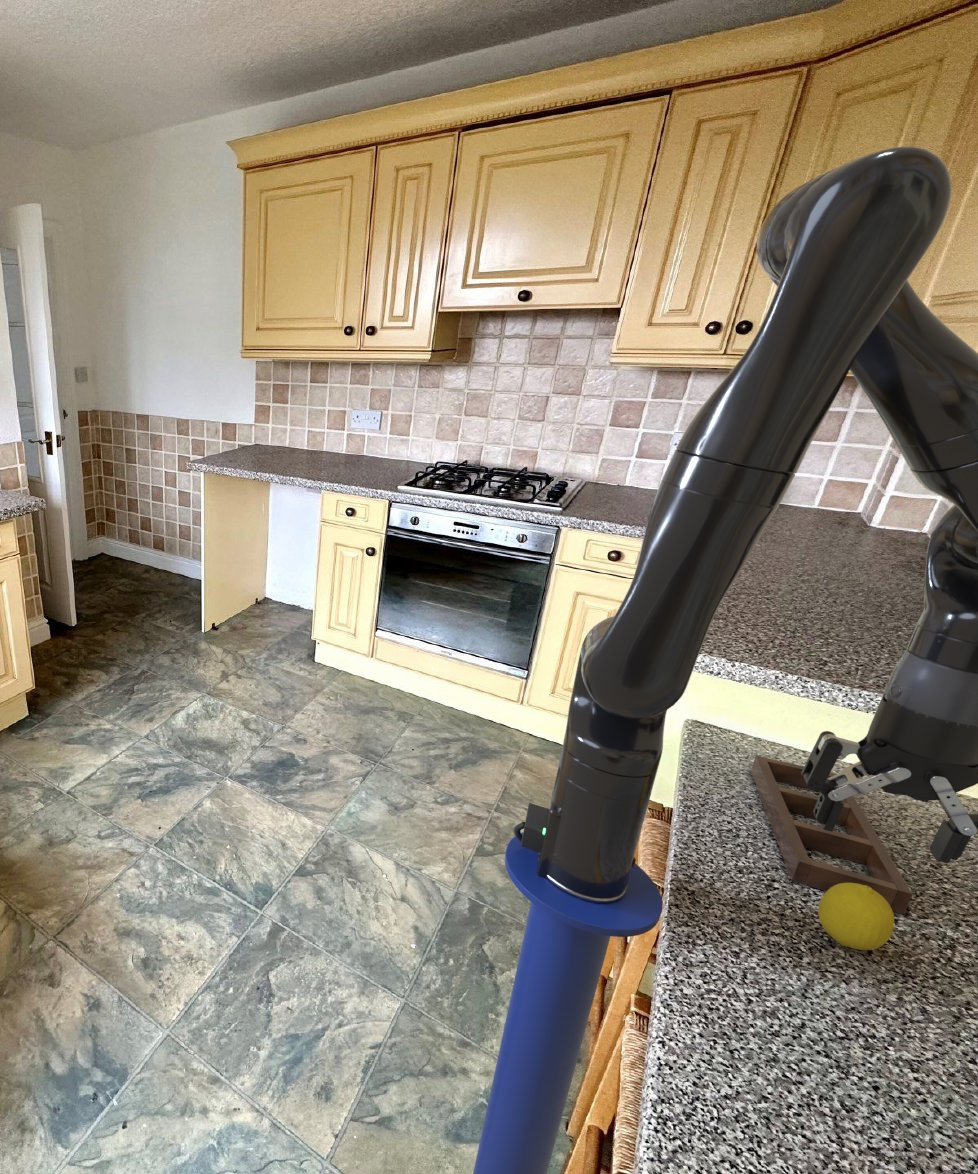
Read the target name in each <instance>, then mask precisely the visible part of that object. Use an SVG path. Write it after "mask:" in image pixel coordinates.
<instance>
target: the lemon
mask: <svg viewBox="0 0 978 1174" xmlns="http://www.w3.org/2000/svg"><path fill="white" fill-rule="evenodd" d="M817 911H818V918H819V919H818V920H819V922H820V924H821V926H822V928H823V929H824V931H825V932H826V933H827V934H828V935H829V936H830V937H832V939H833V940H835V941H836V942H838V943H839V945H841V946H842V947H845V948H850V949H851V948H852V949H853V950H860V951H872V950H875V949H879V948H880V947H882V946H884V945H885V944H886V943H887V942H888V941H889V939H890V938H891V937H892V936H893V932H894V927H895V915H894V912H893V911H892V909H891V907H890V905H889V903H888V902H887V901H886V900H885V899H884V898H883V897H882V896H881V895H880V894H879V893H878V892H876V891H875V890H873V889H872V888H871V887H869V886H867V885H861V884H857V883H840V884H837V885H834V886H833V887H831V888H830V889H828V890H827V891H825V893H824V894H823V895H822V896H821V898H820V900H819V903H818V909H817Z"/></svg>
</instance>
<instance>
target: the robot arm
mask: <svg viewBox="0 0 978 1174" xmlns="http://www.w3.org/2000/svg"><path fill="white" fill-rule="evenodd" d="M949 172H950V171H949V170H948V168H947V165H946V164H945V162H943V160H942V159H941V158H940V157H939V156H938V155H937V154H935V153H934V152H932V151H931V150H928V149H925V148H922V147H917V146H896V147H890V148H885V149H881V150H878V151H874V152H871V153H869V154H865V155H863V156H860V157H857V158H855V159H852V160H850V161H847V162H846V163H844V164H841V165H840V166H838V167H835V168H833V169H831V170H829V171H827V172H824V173H823V174H820V175H818V176H816V177H814V178H811V179H810V180H808V181H806V182H804V183H802V184H801V185H799V186H797V187H795V188H794V189H792V190H790V192H788V193H787V194H786V195H784V196H783V197H782V198H780V200H779V201H777V203H776V204H775V205H774V206H773V207H772V208H771V209H770V211H769V213H768V214H767V215H766V217H765V218H764V220H763V222H762V224H761V227H760V228H759V232H758V235H757V240H756V255H757V259H758V263H759V265H760V267H761V269H762V270H763V272H764V273H765V274H766V276H767V277H768V278H769V279H770V280H771V281H772V282H773V284H774V285H775V286H776V287H777V288H776V290H775V292H774V295H773V298H772V299H771V302H770V304H769V306H768V309H767V312H766V314H765V316H764V319H763V321H762V322H761V325H760V327H759V328H758V331H757V332H756V335H754V338H753V340H752V341H751V343H750V345H749V346H748V348H747V349H746V350H745V352H743V355H742V356H741V358H740V359H739V360H738V362H737V363H736V364H735V365H734V366H733V368H732V369H731V370H730V372H729V373H728V374H727V375H726V377H724V379H723V380H722V381H721V382H720V383H719V384H718V386H717V387H716V388H715V389H714V391H713V392H712V393H711V395H710V396H709V397H708V398H707V400H706V401H705V402H704V403H703V404H702V406H701V408H700V409H699V410H698V412H697V413H695V415H694V417H693V418H692V419H691V421H690V422H689V424H688V426H687V428H685V431H684V433H683V434H682V436H681V438H680V439H679V442H678V443H677V445H676V449H675V450H674V452H673V454H672V456H671V458H670V460H669V463H668V465H667V467H666V469H665V471H664V474H663V476H662V478H661V480H660V483H659V485H658V487H657V490H656V494H655V497H654V500H653V503H652V505H651V508H650V512H649V515H648V519H647V522H646V525H645V529H644V534H643V538H642V542H641V547H640V551H639V556H638V559H637V564H636V567H635V571H634V575H633V578H632V580H631V583H630V586H629V588H628V590H627V592H626V594H625V596H624V598H623V600H622V602H621V604H620V606H619V607H618V609H617V611H616V612H615V614H614V615H613V616H610V617H608V618H605V619H603V620H601V621H599V622H598V623H597V624H594V626H593V627H592V628H591V629H590V630H589V631H588V632H587V634H586V635H585V637H584V639H583V641H582V644H581V648H580V652H579V655H578V656H579V657H578V660H577V666H576V671H575V676H574V681H573V686H572V692H571V696H570V700H569V706H568V712H567V719H566V724H565V725H566V726H565V733H564V736H563V743H562V748H561V753H560V758H559V761H558V765H557V771H556V776H555V780H554V785H553V786H552V789H551V793H550V799H549V803H548V807H546V806H545V807H544V806H541V805H538V804H536V803H531V802H529V803H528V806H527V811H526V817H525V821H521V822H520V823H517V824H516V825H514V828H513V833H514V837H515V836H516V837H517V838H518V840H519V841H520V842H521V847H524V848H527V849H530V850H533V851H536V852H539V855H538V860H537V862H538V865H537V873H536V874H537V875H538V876H540V877H542V878H545V879H547V880H548V881H549V882H550V883H551V884H553V885H554V886H555V887H557V888H558V889H560V890H561V891H563V892H565V893H566V894H568V895H570V896H573V897H575V898H577V899H580V900H583V901H587V902H591V903H597V904H610V903H615V902H617V901H619V900H621V899H622V898H623V897H624V895H625V892H626V889H627V883H628V879H629V873H630V870H631V866H632V867H633V869H634V865H635V863H636V861H637V859H636V857H635V855H636V851H637V847H638V844H639V839H640V836H641V833H642V829H643V825H644V821H645V818H646V814H647V811H648V807H649V803H650V800H651V795H652V792H653V788H654V785H655V782H656V777H657V773H658V770H659V765H660V762H661V759H662V754H663V749H664V748H663V747H664V734H665V725H666V724H665V723H666V716H667V712H668V710H669V709H670V708H672V707H673V706H675V705H676V704H677V703H678V701H679V700H680V699H681V698H682V697H683V695H684V694H685V692H686V691H687V688H688V685H689V683H690V680H691V677H692V674H693V672H694V668H695V665H696V663H697V660H698V658H699V655H700V652H701V649H702V647H703V645H704V642H705V639H706V637H707V634H708V631H709V629H710V626H711V625H712V622H713V619H714V618H715V615H716V612H717V611H718V609H719V607H720V605H721V603H722V602H723V600H724V598H725V596H726V595H727V593H728V591H730V589H731V586H732V585H733V584H734V582H735V581H736V580H737V578H738V577H739V574H740V573H741V571H742V570H743V568H744V566H745V565H746V563H747V561H748V560H749V558H750V556H751V555H752V553H753V551H754V550H755V548H756V546H757V544H758V543H759V541H760V539H761V537H762V536H763V534H764V532H765V530H766V528H767V527H768V525H769V524H770V522H771V520H772V519H773V517H774V515H775V514H776V512H777V510H778V509H779V506H780V505H781V503H782V501H783V499H784V497H785V495H786V493H787V491H788V490H789V488H790V486H791V484H792V482H793V480H794V478H795V476H796V474H797V473H798V471H799V469H800V468H801V465H802V463H803V460H804V459H805V456H806V455H807V452H808V450H809V448H810V447H811V444H812V442H813V440H814V439H815V437H816V435H817V433H818V431H819V429H820V427H821V425H822V424H823V422H824V420H825V419H826V416H827V414H828V412H829V411H830V409H831V407H832V405H833V404H834V402H835V400H836V398H837V396H838V394H839V392H840V390H841V388H842V386H843V384H844V382H845V379H846V378H847V376H848V374H849V372H850V373H851V375H852V376H853V377H854V379H855V380H856V382H857V383H858V384H859V386H860V387H861V389H862V391H863V392H864V393H865V395H866V396H867V398H868V399H869V401H870V403H871V404H872V406H873V407H874V409H875V411H876V412H877V414H878V416H879V417H880V419H881V421H882V423H883V424H884V427H885V428H886V430H887V432H888V433H889V435H890V436H891V438H892V441H893V442H894V443H895V446H896V448H897V449H898V451H899V452H900V454H901V456H902V457H903V459H904V461H905V463H906V464H907V466H908V468H909V469H910V472H911V473H912V475H913V476H914V477H915V478H916V480H917V481H918V482H919V483H920V485H922V486H923V488H924V489H926V490H928V491H930V492H931V493H933V494H935V495H937V496H940V497H942V498H943V499H946V500H948V501H949V502H951V503H952V504H953V505H952V506H950V507H949V509H947V510H946V511H945V512H944V513H943V514H942V516H941V517H940V518H939V520H938V521H937V522H936V524H935V526H933V529H932V531H931V534H930V536H929V540H928V544H927V548H926V549H927V550H926V558H925V569H924V570H925V571H924V582H923V583H924V584H923V592H924V593H923V595H924V598H923V599H924V604H923V605H924V606H923V610H922V613H921V614H920V616H919V618H918V621H917V623H916V626H915V628H914V630H913V632H912V635H911V636H910V640H909V641H908V644H907V647H906V649H905V651H904V652H903V654H902V655H901V657H900V658H899V660H898V661H897V663H896V665H895V666H894V668H893V670H892V672H891V675H890V677H889V680H888V682H887V684H886V686H885V689H884V691H883V694H882V696H881V698H880V700H879V703H878V706H877V708H876V710H875V714H874V715H873V718H872V719H871V722H870V724H869V727H868V731H867V734H866V735H865V736H864V737H863V738H862V739H860V740H859V741H853V740H850V739H846V738H842V737H838V736H836V734H835V733H834V732H832V731H830V730H824V731H822V732H821V733H820V734H819V736H818V738H817V740H816V742H815V744H814V746H813V748H812V750H811V752H810V754H809V756H808V758H807V760H806V762H805V764H804V765H803V766H804V768H803V770H802V772H801V774H802V776H803V778H804V779H805V781H806V784H807V786H808V787H809V788H810V789H809V790H811V789H812V790H811V791H815V790H817V791H816V792H819V798H818V800H817V803H816V805H815V808H814V810H813V812H814V816H815V818H816V819H815V818H814V819H815V820H816V823H818V824H819V827H821V828H822V829H824V830H827V831H831V832H832V831H835V830H834V829H835V827H836V825H837V824H836V822H837V820H838V818H839V815H840V813H841V811H842V808H843V806H844V803H843V801H842V800H844V799H846V798H849V797H851V796H857V795H859V794H860V795H866V794H869V793H871V792H873V791H876V790H878V789H880V790H881V791H882V792H884V793H887V794H890V795H896V796H897V795H898V796H907V797H909V798H912V799H913V800H916V801H920V802H923V803H926V804H927V803H929V802H930V801H931V802H933V801H937V802H938V803H939V805H940V806H941V808H942V809H943V812H944V813H945V814H946V816H947V818H948V820H946V819H942V821H941V823H940V825H939V827H938V829H937V831H936V834H934V835H935V836H934V838H933V839H932V842H931V844H930V845H929V852H930V854H931V855H932V857H933V858H934V859H935V860H936V861H937V862H940V863H944V864H950V862H951V860H954V861H957V860H959V859H960V858H961V857H962V855H963V853H964V851H965V849H966V848H967V846H968V844H969V841H970V840H971V838H972V837H973V836H975V835H978V812H977V813H968V811H967V809H966V808H965V806H964V804H963V803H962V801H961V800H960V797H959V796H958V795H957V793H960V792H962V791H964V790H967V789H969V788H971V787H974V786H976V785H978V352H977V351H976V350H975V349H974V348H973V347H971V346H970V345H969V344H968V343H966V341H964V340H963V339H962V338H961V337H960V336H958V335H957V334H956V333H955V332H954V331H953V330H951V328H950V327H948V326H947V325H946V324H945V323H944V322H943V321H941V319H939V317H937V316H936V315H935V313H933V312H932V311H931V310H930V308H929V307H928V306H927V305H926V304H925V303H924V301H923V300H922V299H921V298H920V297H919V295H918V294H917V293H916V291H915V290H914V288H913V286H912V284H910V282H909V278H910V277H911V275H912V274H913V272H914V271H915V270H916V268H917V266H918V265H919V263H920V262H921V260H922V259H923V258H924V256H925V254H926V252H928V250H929V249H930V247H931V246H932V244H933V242H934V241H935V239H936V237H937V235H938V234H939V232H940V229H941V228H942V226H943V224H944V221H945V219H946V216H947V215H948V214H947V213H948V211H949V208H950V205H951V199H952V190H953V187H952V181H951V175H950V173H949ZM849 755H856V757H857V759H858V760H859V761H857V762H855V763H853V764H850V765H848V766H846V767H844V768H843V769H842V770H841V771H840V772H839V773H836V774H837V775H834V776H832V777H830V778H828V776H829V774H830V773H832V771H833V769H834V767H835V765H836V762H837V761H839V760H840V761H842V760H844V759H846V758H847V756H849ZM521 831H523V836H522V834H521V833H522V832H521Z"/></svg>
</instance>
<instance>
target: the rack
mask: <svg viewBox="0 0 978 1174" xmlns="http://www.w3.org/2000/svg"><path fill="white" fill-rule="evenodd" d="M804 766H805V765H799V764H795V763H791V762H787V761H783V760H779V759H774V758H769V757H765V756H762V755H761V756H760V755H757V754H756V755H755V756H754V760H753V763H752V766H751V769H750V773H751V774H750V775H751V777H752V779H753V782H754V784H755V787H756V789H757V792H758V795H759V797H760V800H761V804H762V805H763V808H764V811H765V814H766V816H767V818H768V822H769V824H770V826H771V830H772V832H773V835H774V837H775V840H776V843H777V846H778V849H779V851H780V853H781V856H782V859H783V862H784V864H785V866H786V869H787V872H788V875H789V877H790V880H791V882H794V883H797V884H801V885H804V886H806V887H807V886H808V887H811V888H814V889H816V890H817V889H818V890H821V891H824V892H826V891H827V890H828V889H830V888H831V887H833V886H834V885H837V884H840V883H857V884H861V885H867V886H869V887H871V888H872V889H873V890H875V891H876V892H878V893H879V894H880V895H881V896H882V897H883V898H884V899H885V900H886V901H887V902H888V903H889V905H890V907H891V909H892V911H893V913H897V914H901V915H905V913H906V911H907V909H908V906H909V904H910V902H911V900H912V897H913V895H914V894H913V893H912V891H911V888H910V887H909V886H908V884H907V882H906V880H905V879H904V877H903V876H902V874H901V872H900V871H899V869H898V867H897V866H896V864H895V862H894V860H893V859H892V857H891V856H890V854H889V852H888V850H887V849H886V847H885V846H884V844H883V841H881V839H880V838H879V836H878V834H877V832H876V831H875V829H874V827H873V825H872V824H871V822H870V821H869V819H868V817H867V815H866V814H865V812H864V811H863V809H862V807H861V806H860V804H859V802H858V800H857V799H856V797H855V795H853V796H851V797H849V798H846V799H844V800H842V801H843V803H844V806H843V808H842V811H841V813H840V815H839V818H838V820H837V822H836V825H838V826H843V827H844V829H845V830H846V832H847V833H843V832H840V831H837V830H833V831H832V832H831V831H827V830H824V829H822V828H821V826H817V825H814V824H810V823H808V822H807V823H806V822H802V821H799V820H796V819H793V818H792V816H791V814H790V813H794V814H797V815H800V816H804V817H808V818H811V819H815V820H816V818H815V816H814V812H813V810H814V808H815V805H816V803H817V800H818V798H819V796H818V795H815V794H811V793H807V792H802V791H799V790H795V789H790V788H787V787H782V786H778V783H777V782H779V783H783V784H788V785H791V786H796V787H799V788H802V789H803V788H804V789H807V790H810V791H813V790H812V789H810V788H809V787H808V786H807V784H806V781H805V779H804V778H803V776H802V774H801V772H802V770H803V768H804ZM837 774H838V773H834V772H830V774H829V776H828V778H830V777H832V776H834V775H837ZM814 791H816V792H818V791H817V790H814ZM806 849H807V850H811V851H815V852H819V853H822V854H826V855H829V856H831V857H836V858H841V859H842V860H843V859H844V860H847V861H850V862H854V863H858V864H861V865H865V867H866V869H867V871H868V873H869V875H870V876H869V875H866V874H862V873H859V872H855V871H851V870H849V869H844V868H841V867H838V866H835V865H831V864H827V863H824V862H820V861H817V860H814V859H810V858H809V856H808V853H807V851H806Z"/></svg>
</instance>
